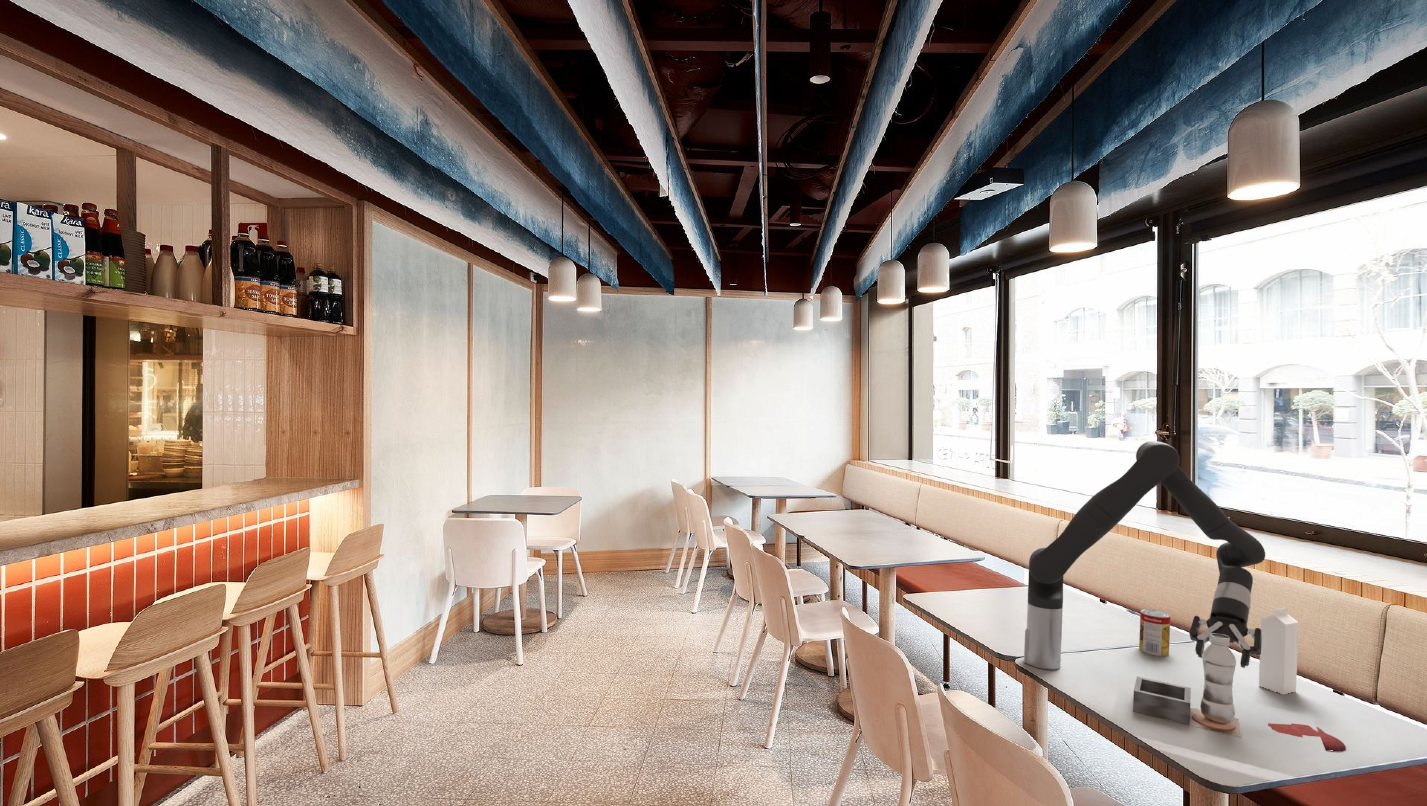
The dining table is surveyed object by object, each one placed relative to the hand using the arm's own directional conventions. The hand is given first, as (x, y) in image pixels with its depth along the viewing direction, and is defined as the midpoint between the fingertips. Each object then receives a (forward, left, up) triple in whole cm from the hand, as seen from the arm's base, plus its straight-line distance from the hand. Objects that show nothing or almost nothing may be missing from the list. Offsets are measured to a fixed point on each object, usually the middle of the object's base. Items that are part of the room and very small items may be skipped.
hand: (1220, 660), depth 171 cm
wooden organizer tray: (-7, -6, -14) cm, 17 cm away
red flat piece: (+14, +1, -15) cm, 21 cm away
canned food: (-15, +48, -15) cm, 52 cm away
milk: (+14, +35, -15) cm, 40 cm away
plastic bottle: (-1, -6, -13) cm, 14 cm away
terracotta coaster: (-1, -6, -13) cm, 14 cm away
